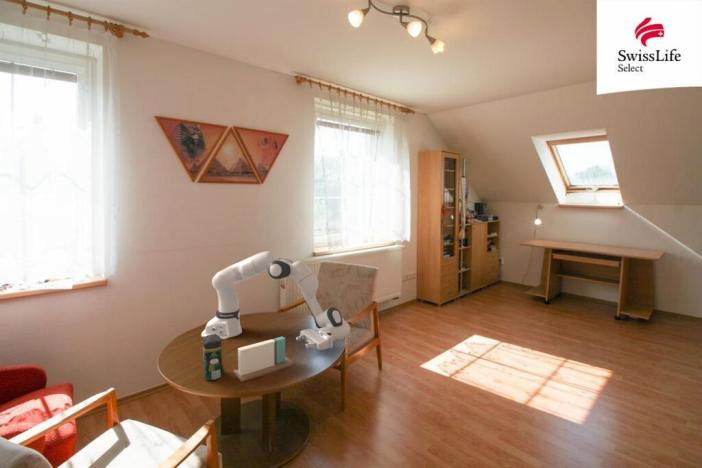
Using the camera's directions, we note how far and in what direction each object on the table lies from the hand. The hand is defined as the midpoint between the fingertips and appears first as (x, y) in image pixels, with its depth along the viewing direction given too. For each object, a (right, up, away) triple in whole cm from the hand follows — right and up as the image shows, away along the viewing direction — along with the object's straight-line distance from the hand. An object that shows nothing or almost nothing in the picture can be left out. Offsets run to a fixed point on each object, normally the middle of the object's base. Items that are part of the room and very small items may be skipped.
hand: (301, 342), depth 176 cm
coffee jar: (-38, -10, -18) cm, 43 cm away
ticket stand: (-16, -9, -11) cm, 21 cm away
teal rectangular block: (-10, -7, -7) cm, 14 cm away
